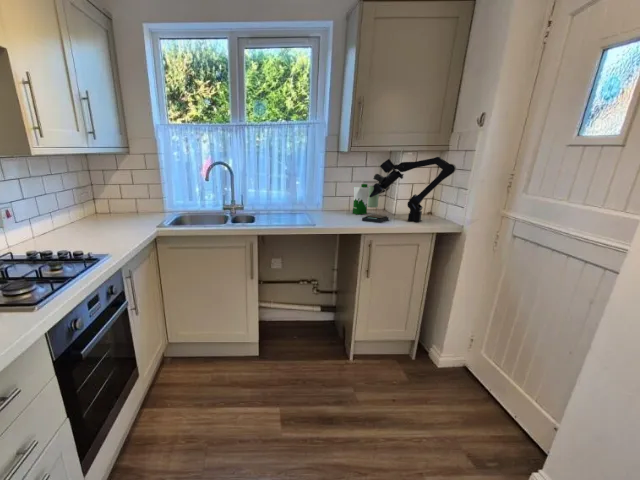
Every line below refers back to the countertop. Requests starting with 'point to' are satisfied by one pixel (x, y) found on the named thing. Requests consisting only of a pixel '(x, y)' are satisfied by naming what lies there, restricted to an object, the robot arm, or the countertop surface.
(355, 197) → the milk carton
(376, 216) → the scale
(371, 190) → the tumbler
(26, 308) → the countertop surface
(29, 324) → the countertop surface
